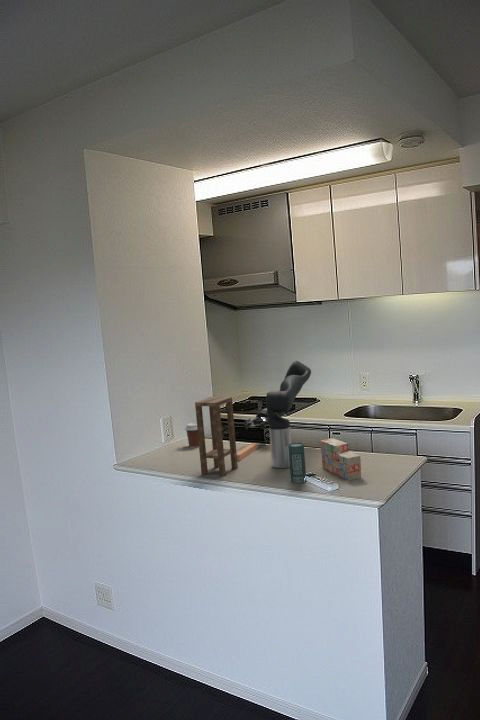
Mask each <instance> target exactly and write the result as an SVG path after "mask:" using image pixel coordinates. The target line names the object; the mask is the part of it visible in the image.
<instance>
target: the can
mask: <svg viewBox="0 0 480 720" xmlns="http://www.w3.org/2000/svg"><path fill="white" fill-rule="evenodd" d="M288 448H289V462H290V468H289V474H290V482H291V483H292V484H303V482H304V478H305V476H306V477H307V469H306V458H305V457H306V456H305V443H303V442H291V444H289V445H288ZM304 483H305V482H304Z"/></svg>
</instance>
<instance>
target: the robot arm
mask: <svg viewBox="0 0 480 720" xmlns="http://www.w3.org/2000/svg"><path fill="white" fill-rule="evenodd" d="M311 375H312V370H311V368H310V367H308V366H307V365H305V364H304V363H302V362H300V361H299V360H294V361H292V363H291V365H290V366H289V367H288V369H287V372H286V373H285V376H284V379H283V380H282V381H281V383H280V386H279V390H278V391H277V390H275V391H273V390H271V391H270V390H269V391H268V392H267V393H266V396H265V405H266V407H265V408H263V409H262V410H261V411H259V412H258V413H257V414H256V416H255V418H252V419H251V418H248V419H246V420H245V421H244V422H243V423H244V429H245V430H248V429H249V428H250V427H256V426H260V428H261V429H263V428H265V427H267V426H268V430H269V432H268V433H269V444H270V456H271V467H272V468H275V469H287V468H289V469H290V462H289V448H288V445H289V444H291V443H292V435H291V421H290V420H289V419H288V418H284V417H283V416H284V415H285V414H286V413H288V412H289V411H291V408H292V407H293V405H294V401H295V399H296V397H297V396H298V394H299V393H300V392H301V390H302V388H303V386H304V385H305V384H306V383H307V381H308V380H309V379H310V377H311Z"/></svg>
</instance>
